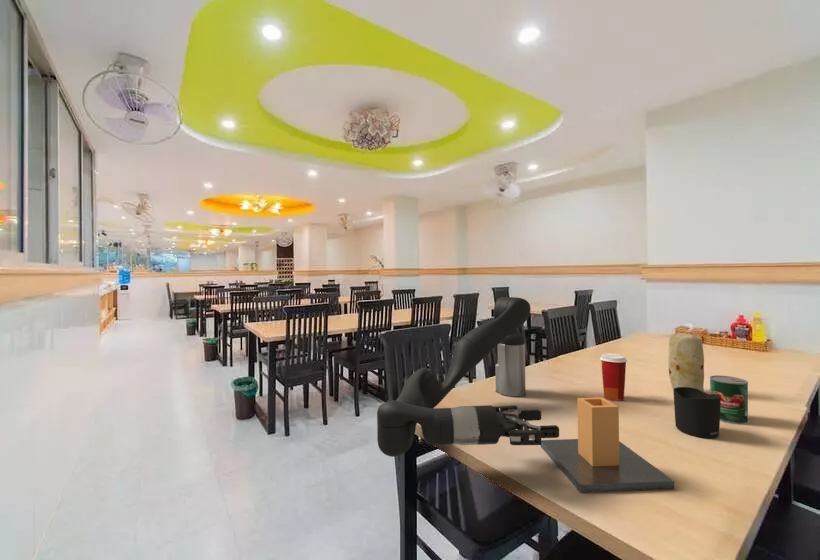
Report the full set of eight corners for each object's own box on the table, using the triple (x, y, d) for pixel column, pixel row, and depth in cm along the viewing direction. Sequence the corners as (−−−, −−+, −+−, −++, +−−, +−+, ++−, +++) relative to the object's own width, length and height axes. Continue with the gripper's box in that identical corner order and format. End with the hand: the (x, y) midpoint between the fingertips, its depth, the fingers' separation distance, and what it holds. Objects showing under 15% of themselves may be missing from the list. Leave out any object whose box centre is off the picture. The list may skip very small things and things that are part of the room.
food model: (706, 393, 118) (705, 334, 118) (701, 398, 114) (701, 336, 114) (671, 387, 126) (670, 331, 126) (665, 391, 122) (665, 333, 121)
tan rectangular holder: (592, 466, 71) (591, 407, 71) (578, 452, 77) (577, 398, 77) (619, 465, 72) (618, 406, 72) (603, 451, 77) (602, 397, 77)
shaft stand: (580, 492, 65) (580, 443, 65) (540, 446, 83) (540, 407, 83) (674, 489, 66) (673, 440, 66) (614, 443, 84) (614, 405, 84)
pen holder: (681, 436, 87) (680, 396, 87) (668, 421, 96) (668, 385, 96) (728, 442, 84) (728, 400, 84) (711, 426, 93) (710, 388, 93)
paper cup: (620, 394, 119) (619, 353, 119) (632, 402, 111) (631, 358, 111) (596, 394, 120) (595, 353, 119) (606, 402, 112) (605, 358, 112)
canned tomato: (717, 422, 96) (717, 381, 95) (704, 411, 103) (704, 374, 103) (755, 426, 93) (754, 384, 93) (739, 415, 100) (738, 376, 100)
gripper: (466, 428, 81) (535, 426, 81) (481, 460, 66) (565, 457, 67) (465, 395, 80) (535, 393, 81) (480, 420, 66) (565, 418, 67)
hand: (549, 422), depth 74 cm, fingers open, 8 cm apart
